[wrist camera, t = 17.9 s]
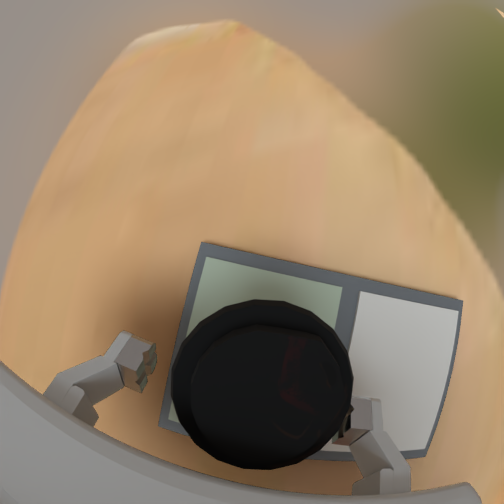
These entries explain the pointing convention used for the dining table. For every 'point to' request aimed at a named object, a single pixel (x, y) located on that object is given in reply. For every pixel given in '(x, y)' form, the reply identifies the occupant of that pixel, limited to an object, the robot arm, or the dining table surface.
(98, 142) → the dining table surface
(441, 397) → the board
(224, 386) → the coffee cup
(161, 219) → the dining table surface
